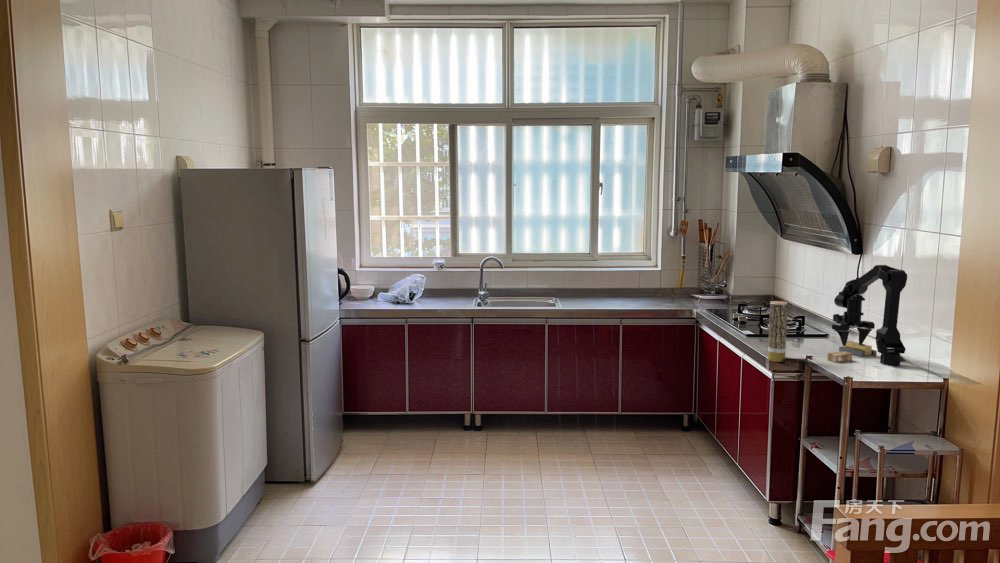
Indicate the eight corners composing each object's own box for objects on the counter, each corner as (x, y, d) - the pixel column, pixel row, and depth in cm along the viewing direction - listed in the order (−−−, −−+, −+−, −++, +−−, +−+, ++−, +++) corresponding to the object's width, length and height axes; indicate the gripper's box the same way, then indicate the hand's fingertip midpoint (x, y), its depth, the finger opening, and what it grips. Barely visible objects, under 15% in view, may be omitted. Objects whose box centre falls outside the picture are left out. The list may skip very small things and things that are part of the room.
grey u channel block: (876, 358, 298) (876, 350, 297) (861, 360, 295) (861, 352, 295) (853, 353, 309) (854, 345, 309) (838, 354, 306) (839, 346, 306)
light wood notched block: (851, 364, 287) (852, 353, 287) (834, 366, 284) (835, 355, 284) (844, 362, 291) (844, 351, 290) (827, 364, 288) (827, 353, 287)
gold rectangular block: (871, 354, 297) (871, 346, 297) (864, 354, 296) (865, 346, 296) (848, 348, 309) (849, 340, 308) (842, 349, 307) (843, 341, 307)
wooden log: (786, 362, 290) (789, 303, 287) (769, 362, 291) (771, 303, 289) (783, 359, 297) (785, 301, 294) (766, 358, 298) (768, 301, 295)
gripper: (855, 306, 313) (853, 340, 315) (823, 308, 307) (821, 343, 309) (876, 309, 303) (874, 345, 305) (843, 311, 297) (841, 347, 298)
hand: (852, 345), depth 304 cm, fingers open, 9 cm apart
